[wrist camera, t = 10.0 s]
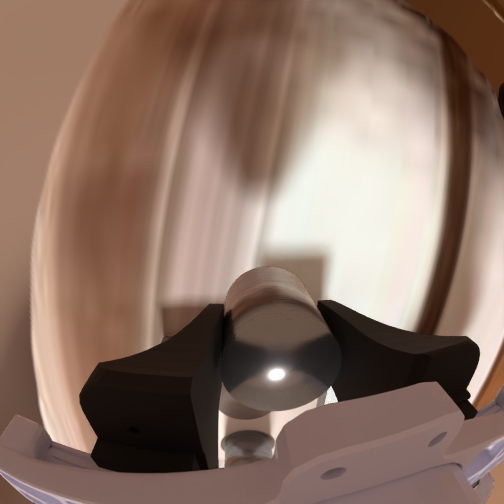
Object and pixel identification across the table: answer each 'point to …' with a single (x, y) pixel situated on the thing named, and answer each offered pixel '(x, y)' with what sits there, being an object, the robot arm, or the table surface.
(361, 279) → the table surface
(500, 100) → the supplement bottle
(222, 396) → the scale
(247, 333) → the cylinder
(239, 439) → the cylinder
